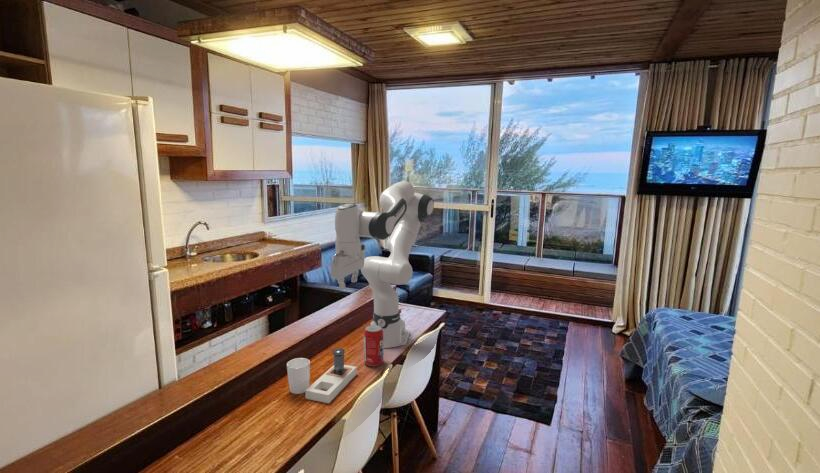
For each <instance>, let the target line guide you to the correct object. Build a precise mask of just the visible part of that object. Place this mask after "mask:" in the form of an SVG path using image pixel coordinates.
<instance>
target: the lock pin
mask: <svg viewBox="0 0 820 473" xmlns="http://www.w3.org/2000/svg"><path fill="white" fill-rule="evenodd" d="M345 354H346V350H345V349H344V348H340V347H338V348H334V349H332V355H333V365H334V374H336V375H343V374H344V365H345V357H344V356H345Z"/></svg>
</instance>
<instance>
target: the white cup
mask: <svg viewBox="0 0 820 473" xmlns="http://www.w3.org/2000/svg"><path fill="white" fill-rule="evenodd" d="M286 370H287V381H288V385H289V386H288V387H289V392H290V393H291V394H293V395H301V394H304V393H305V390H306V389H308V388H309V387H310V379H311V378H310V377H311V376H310V375H311V361H310V359H308V358H305V357H297V358H293V359H291V360H289V361H287V362H286Z"/></svg>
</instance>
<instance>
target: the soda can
mask: <svg viewBox="0 0 820 473" xmlns="http://www.w3.org/2000/svg"><path fill="white" fill-rule="evenodd" d="M384 349H385V348H384V347H383V330H382V328H381V327H380V326H378V325H371V324H370V325H368V326H366V327H365V329H364V331H363V362H364V364H365V365H366V366H370V367H378V366H380V365H382V364H383V363H384V358H385V357H384V355H385V354H384Z"/></svg>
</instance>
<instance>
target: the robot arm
mask: <svg viewBox="0 0 820 473" xmlns="http://www.w3.org/2000/svg"><path fill="white" fill-rule="evenodd" d="M434 203H435V202H434V199H433V197H432V196H429V195H428V194H422V193H419V192H415V187H414V185H413V184H412V183H411V182H409V181H407V180H401V181H399V182H395V183H393V184H392V185H390V186H389V187H387V188H386V189H384V190H382V192H381V194H380V196H379V204H380V208H381V209H382V210H383V212H382V211H381V212H376V211H364V210H362V209H360V208H359V207H358V204H356V203H352V202H351V203H349V202H347V203H343V204H340V205H338V206H337V208H336V210H335V215H334V230H335V234H336V236H335V242H334V243H335V244H334V246H335V253H334V256H333V258H332V259H331V262H330V278H331V279H333V280H337V283H338V288H339V289H340V290H344V289H346V283H345V277H348V276H350V275H352V277H351V279H350V281H351V283H357V281H358V276H359V273H360V272H359V270H360V271H361V275H362V276H364V278H365V279H366V280H367V282H368V285H369V286H370V288H371V292H372V297H373V312H372V321H371V322H370V326H371V325H378V326H380V327H381V328H382V330H383V347H384V349H390V348H396V347H399V346H406V345H407V344H408V340H409V337H410V333H411V330H410V329H407V328H406V322H405V321H404V320H403V319H402V318H401V314H402V308H399V307H400V306H399V302H400V299H399V294H398V293H397V291H396V290H395V289H394V288H393V287H392V285H396V286H397V285H398V286H399V285H401V286H402V285H407V284H409V282H410V281H411V280H412V278H413V273H414V272H413V267H412V265H411V264H410V262H409V257H410V252H411V250H412V247H413V245H414V243H415V240H416V239H417V236H418V234H419V233H420V232H419V231H420V227H421V223H422V222H425V220H427V219H428V218H429V217H430V216H431V215H432V214H433V211H434V207H435V204H434ZM360 237H363V238H372V239H375V240H376V239H377V240H382V241H385V240H387V242H386V247H387V249H388V251H389V252H390V255H389V256H388V257H385V256H378V255H374V256H373V255H372V256H367V257H365V255H366V254H365V250H366V244H364V243H362V242H361V239H360Z"/></svg>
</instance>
